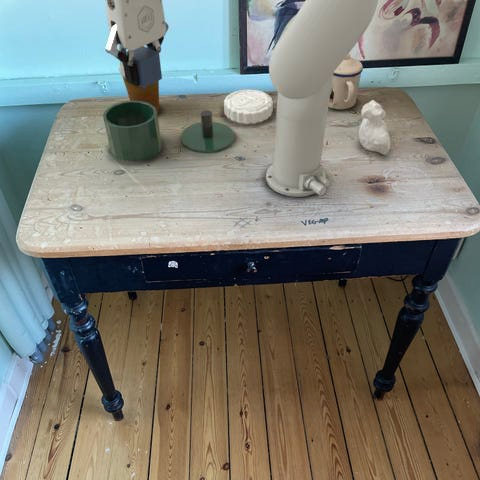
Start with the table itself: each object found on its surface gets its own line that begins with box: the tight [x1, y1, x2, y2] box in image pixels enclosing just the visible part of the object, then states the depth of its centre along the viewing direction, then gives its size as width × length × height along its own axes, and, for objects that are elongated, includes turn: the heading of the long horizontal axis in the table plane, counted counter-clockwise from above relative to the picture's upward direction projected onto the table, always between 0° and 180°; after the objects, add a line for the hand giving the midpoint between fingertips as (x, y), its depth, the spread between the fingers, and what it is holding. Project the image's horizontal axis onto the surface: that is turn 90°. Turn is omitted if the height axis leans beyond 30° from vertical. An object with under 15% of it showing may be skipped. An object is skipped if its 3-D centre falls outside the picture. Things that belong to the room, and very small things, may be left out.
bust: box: [358, 99, 391, 156], centre depth 108 cm, size 12×8×11 cm
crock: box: [102, 100, 163, 163], centre depth 109 cm, size 11×11×8 cm
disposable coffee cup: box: [118, 61, 160, 113], centre depth 118 cm, size 10×10×12 cm
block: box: [126, 46, 163, 88], centre depth 94 cm, size 5×5×5 cm
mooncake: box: [223, 88, 274, 125], centre depth 120 cm, size 12×12×4 cm
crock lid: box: [180, 109, 236, 154], centre depth 112 cm, size 12×12×7 cm
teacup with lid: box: [328, 52, 364, 110], centre depth 120 cm, size 12×9×12 cm
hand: (143, 77), depth 96 cm, fingers closed on block, 5 cm apart
